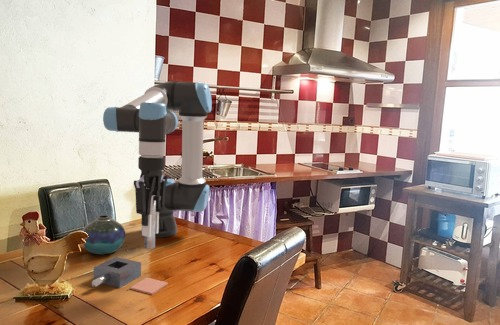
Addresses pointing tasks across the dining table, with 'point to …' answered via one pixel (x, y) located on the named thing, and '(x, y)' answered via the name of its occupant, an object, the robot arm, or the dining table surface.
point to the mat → (149, 286)
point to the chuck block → (116, 272)
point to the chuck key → (152, 223)
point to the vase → (104, 235)
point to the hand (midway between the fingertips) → (150, 234)
